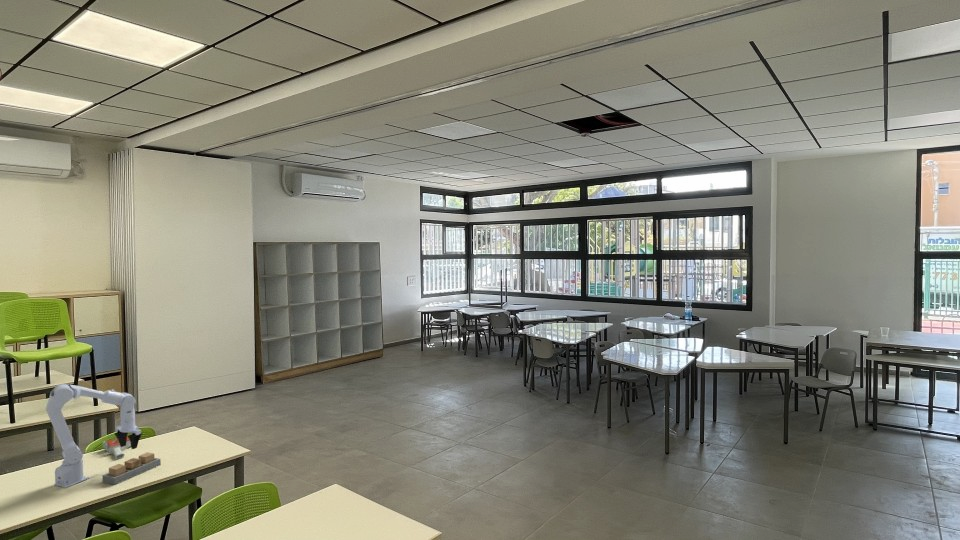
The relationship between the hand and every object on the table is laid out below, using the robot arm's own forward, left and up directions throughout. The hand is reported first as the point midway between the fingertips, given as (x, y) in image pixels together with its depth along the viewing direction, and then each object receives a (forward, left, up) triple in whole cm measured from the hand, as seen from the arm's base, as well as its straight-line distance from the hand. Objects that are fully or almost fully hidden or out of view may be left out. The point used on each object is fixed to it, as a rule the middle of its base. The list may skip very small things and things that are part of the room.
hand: (128, 447), depth 246 cm
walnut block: (-4, -8, -8) cm, 13 cm away
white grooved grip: (+10, +23, -10) cm, 27 cm away
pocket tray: (-5, -8, -9) cm, 13 cm away
